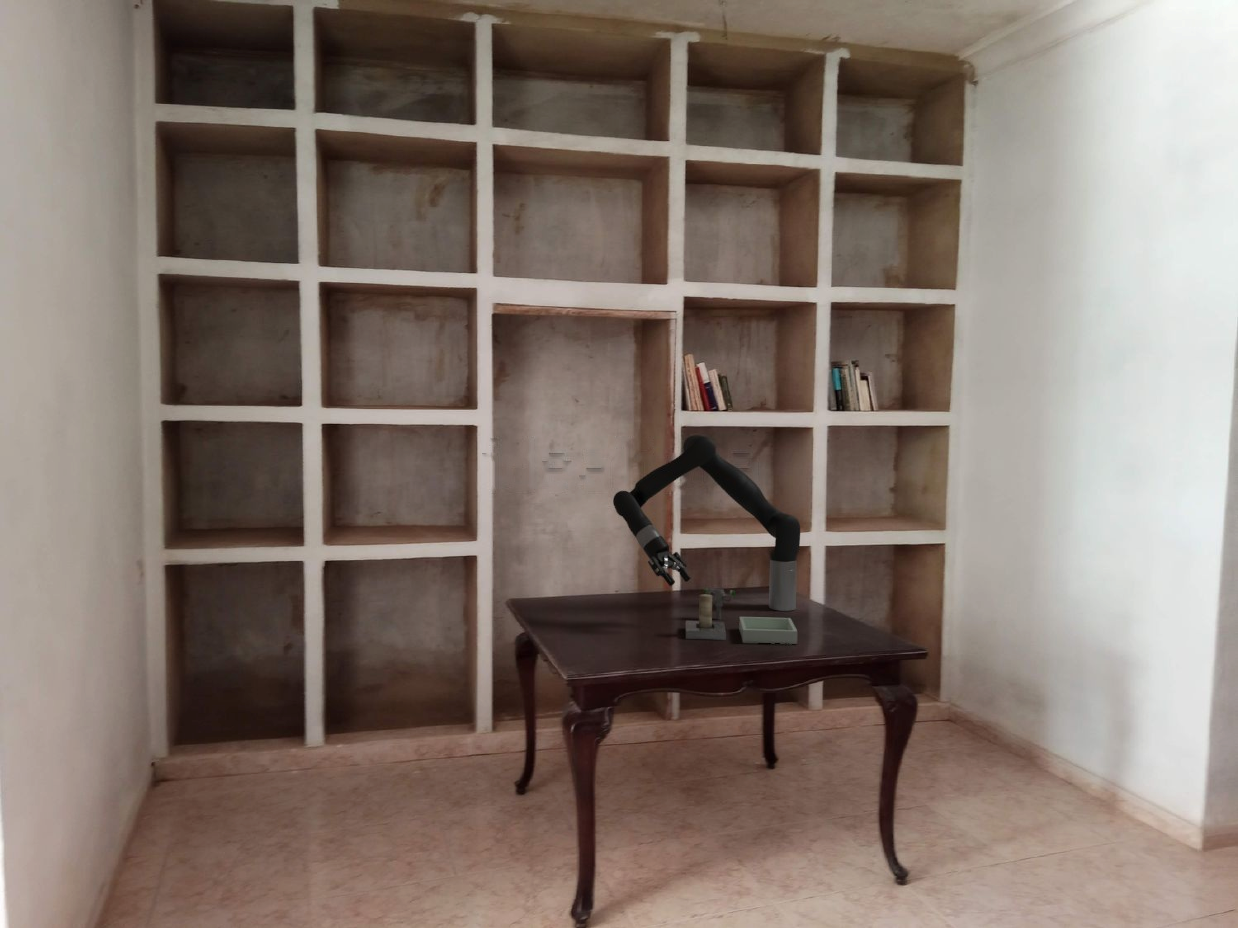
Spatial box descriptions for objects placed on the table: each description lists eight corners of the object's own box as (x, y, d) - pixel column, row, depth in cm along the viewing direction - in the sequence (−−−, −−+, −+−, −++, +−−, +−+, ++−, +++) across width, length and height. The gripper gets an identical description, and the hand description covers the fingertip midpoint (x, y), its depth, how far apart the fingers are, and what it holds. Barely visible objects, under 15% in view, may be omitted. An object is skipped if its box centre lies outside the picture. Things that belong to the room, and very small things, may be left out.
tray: (739, 629, 270) (739, 616, 270) (790, 630, 269) (790, 617, 269) (742, 642, 254) (743, 629, 254) (797, 644, 253) (797, 631, 253)
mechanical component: (733, 621, 280) (734, 591, 279) (702, 619, 282) (703, 589, 281) (734, 618, 283) (734, 589, 282) (703, 617, 285) (704, 587, 284)
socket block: (685, 628, 270) (685, 620, 270) (723, 629, 269) (723, 621, 269) (685, 638, 258) (685, 630, 258) (725, 639, 257) (725, 631, 257)
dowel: (698, 632, 266) (699, 594, 265) (711, 632, 266) (712, 594, 265) (698, 635, 262) (699, 597, 261) (711, 635, 262) (712, 597, 261)
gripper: (645, 537, 268) (674, 578, 262) (671, 532, 279) (700, 571, 273) (632, 552, 272) (660, 593, 265) (658, 546, 283) (686, 585, 276)
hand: (680, 582), depth 269 cm, fingers open, 8 cm apart
